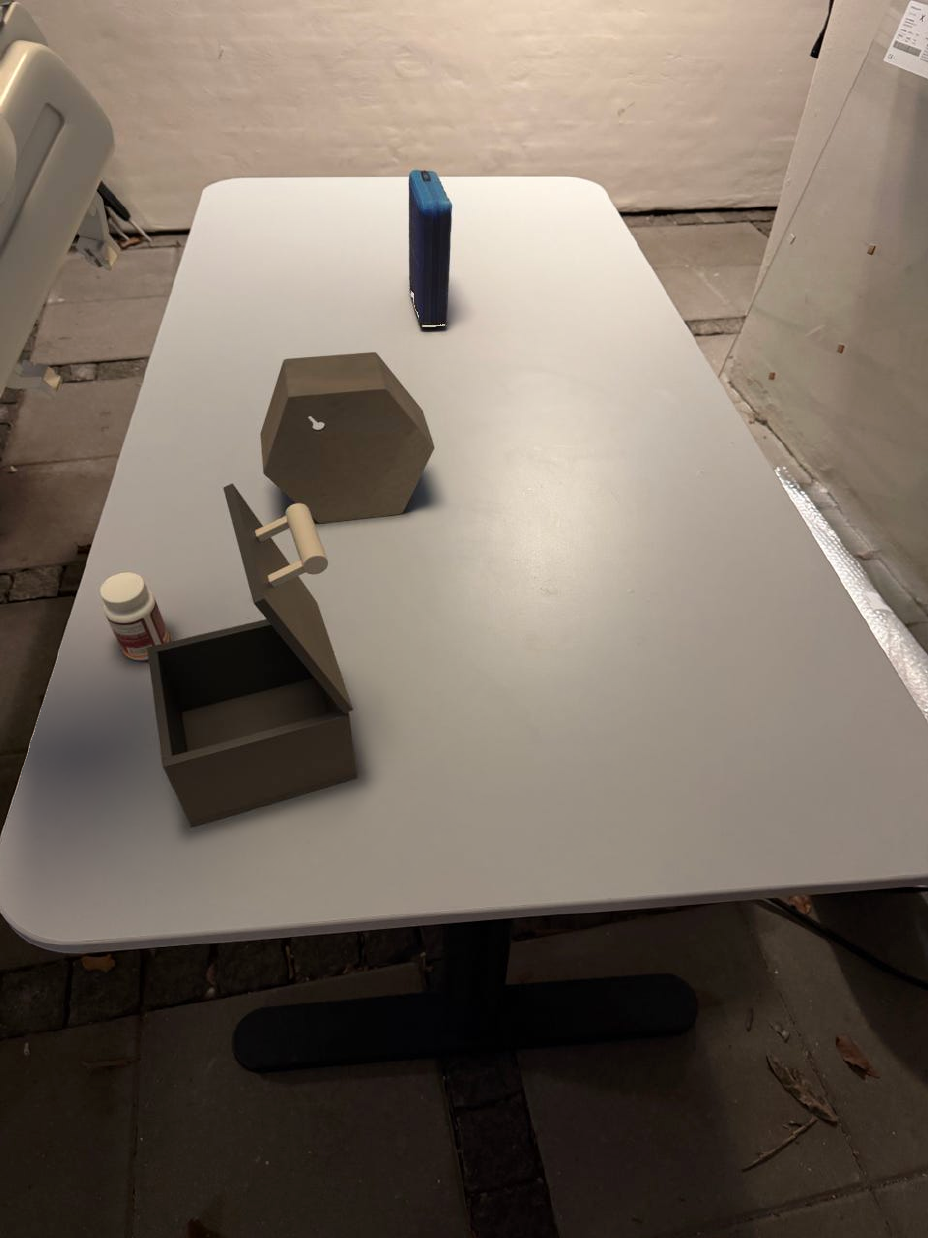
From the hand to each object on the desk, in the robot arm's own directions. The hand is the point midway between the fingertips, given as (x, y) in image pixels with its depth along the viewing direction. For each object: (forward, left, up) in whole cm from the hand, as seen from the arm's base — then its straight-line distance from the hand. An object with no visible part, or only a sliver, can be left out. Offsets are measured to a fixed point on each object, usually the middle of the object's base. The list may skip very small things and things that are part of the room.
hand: (78, 322), depth 49 cm
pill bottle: (-5, +7, -37) cm, 38 cm away
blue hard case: (+46, +66, -37) cm, 89 cm away
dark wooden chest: (+4, -9, -37) cm, 38 cm away
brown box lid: (+9, -9, -20) cm, 23 cm away
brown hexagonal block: (+21, +23, -37) cm, 48 cm away
